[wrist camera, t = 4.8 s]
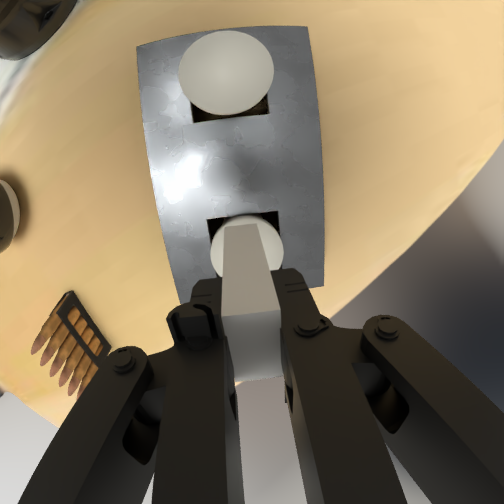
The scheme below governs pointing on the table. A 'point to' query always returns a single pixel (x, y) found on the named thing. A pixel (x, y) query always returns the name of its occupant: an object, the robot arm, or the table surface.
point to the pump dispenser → (8, 215)
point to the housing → (235, 157)
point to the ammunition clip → (72, 343)
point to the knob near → (226, 72)
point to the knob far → (267, 234)
